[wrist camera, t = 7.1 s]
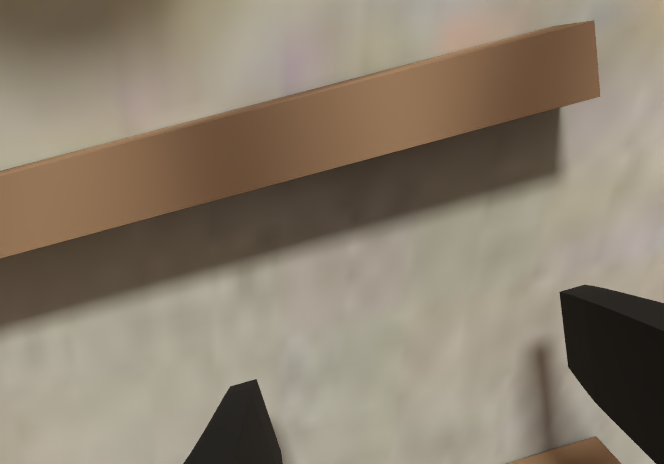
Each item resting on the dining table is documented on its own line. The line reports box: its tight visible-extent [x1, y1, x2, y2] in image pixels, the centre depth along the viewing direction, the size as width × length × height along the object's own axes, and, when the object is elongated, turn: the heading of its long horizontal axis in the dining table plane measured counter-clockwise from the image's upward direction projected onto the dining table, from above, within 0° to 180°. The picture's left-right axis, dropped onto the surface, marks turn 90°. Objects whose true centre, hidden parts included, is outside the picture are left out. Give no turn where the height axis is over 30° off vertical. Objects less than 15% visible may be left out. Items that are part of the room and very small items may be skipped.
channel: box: [0, 21, 621, 464], centre depth 13 cm, size 14×13×2 cm
